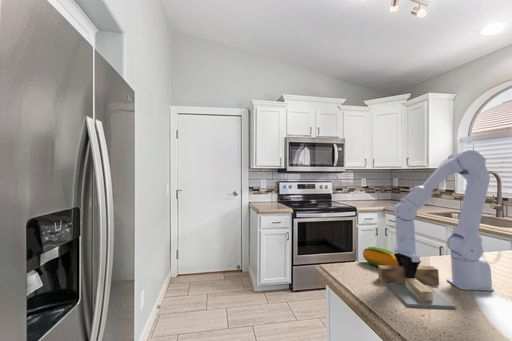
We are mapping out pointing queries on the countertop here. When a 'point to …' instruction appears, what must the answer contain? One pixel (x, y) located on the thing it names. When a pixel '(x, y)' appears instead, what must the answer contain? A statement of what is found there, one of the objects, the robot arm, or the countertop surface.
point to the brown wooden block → (398, 274)
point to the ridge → (419, 289)
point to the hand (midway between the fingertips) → (407, 277)
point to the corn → (379, 256)
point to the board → (413, 301)
